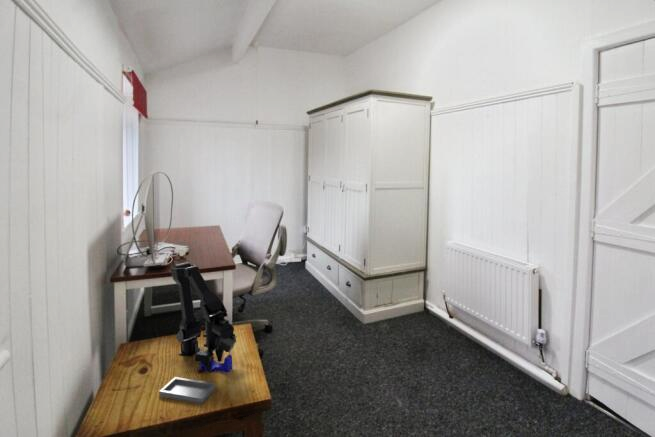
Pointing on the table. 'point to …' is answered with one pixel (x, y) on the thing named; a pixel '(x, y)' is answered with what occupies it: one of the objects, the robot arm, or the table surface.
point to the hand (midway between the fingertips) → (214, 366)
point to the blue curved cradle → (220, 365)
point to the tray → (187, 390)
